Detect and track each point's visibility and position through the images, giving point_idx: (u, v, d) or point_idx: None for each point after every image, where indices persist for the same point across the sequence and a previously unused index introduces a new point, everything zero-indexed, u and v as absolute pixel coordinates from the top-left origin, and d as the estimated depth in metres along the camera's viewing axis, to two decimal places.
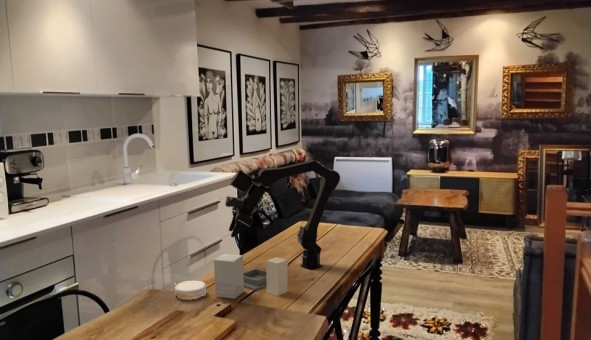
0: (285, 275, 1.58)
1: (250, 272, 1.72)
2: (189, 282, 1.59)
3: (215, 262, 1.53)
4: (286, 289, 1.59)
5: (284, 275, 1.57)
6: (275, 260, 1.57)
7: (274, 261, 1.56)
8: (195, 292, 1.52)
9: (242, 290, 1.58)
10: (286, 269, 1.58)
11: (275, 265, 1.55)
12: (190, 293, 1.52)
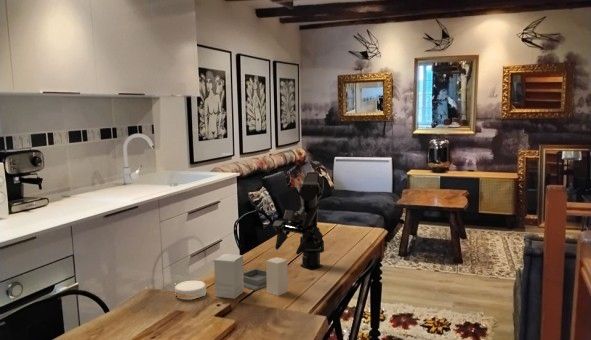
0: (285, 275, 1.58)
1: (250, 272, 1.72)
2: (189, 282, 1.59)
3: (215, 262, 1.53)
4: (286, 289, 1.59)
5: (284, 275, 1.57)
6: (275, 260, 1.57)
7: (274, 261, 1.56)
8: (195, 292, 1.52)
9: (242, 290, 1.58)
10: (286, 269, 1.58)
11: (275, 265, 1.55)
12: (190, 293, 1.52)
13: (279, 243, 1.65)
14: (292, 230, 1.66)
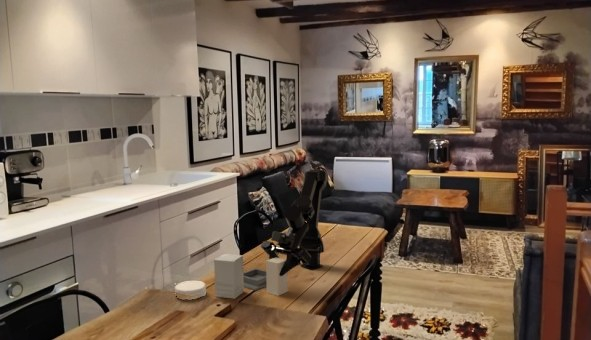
0: (285, 275, 1.58)
1: (250, 272, 1.72)
2: (189, 282, 1.59)
3: (215, 262, 1.53)
4: (286, 289, 1.59)
5: (284, 275, 1.57)
6: (275, 260, 1.57)
7: (274, 261, 1.56)
8: (195, 292, 1.52)
9: (242, 290, 1.58)
10: None
11: (275, 265, 1.55)
12: (190, 293, 1.52)
13: None
14: (280, 251, 1.62)
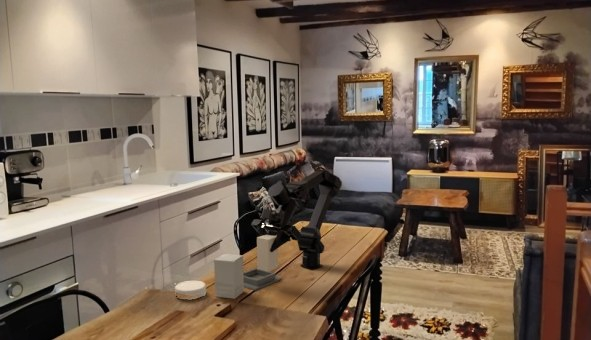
0: (275, 251, 1.62)
1: (250, 272, 1.72)
2: (189, 282, 1.59)
3: (215, 262, 1.53)
4: (276, 265, 1.63)
5: (274, 251, 1.62)
6: (265, 237, 1.62)
7: (264, 238, 1.60)
8: (195, 292, 1.52)
9: (242, 290, 1.58)
10: None
11: (265, 241, 1.59)
12: (190, 293, 1.52)
13: None
14: (270, 229, 1.66)
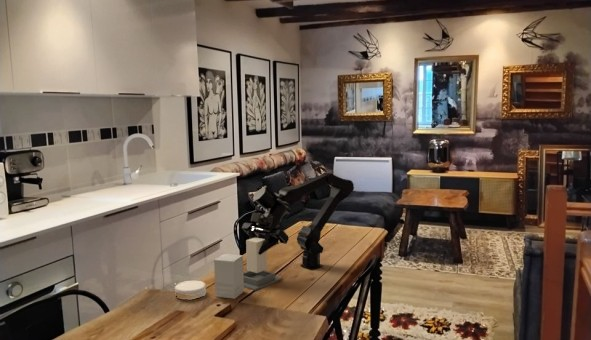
0: (264, 254, 1.68)
1: (250, 272, 1.72)
2: (189, 282, 1.59)
3: (215, 262, 1.53)
4: (265, 267, 1.69)
5: (263, 254, 1.67)
6: (254, 239, 1.67)
7: (253, 241, 1.66)
8: (195, 292, 1.52)
9: (242, 290, 1.58)
10: None
11: (254, 244, 1.65)
12: (190, 293, 1.52)
13: None
14: (260, 232, 1.72)
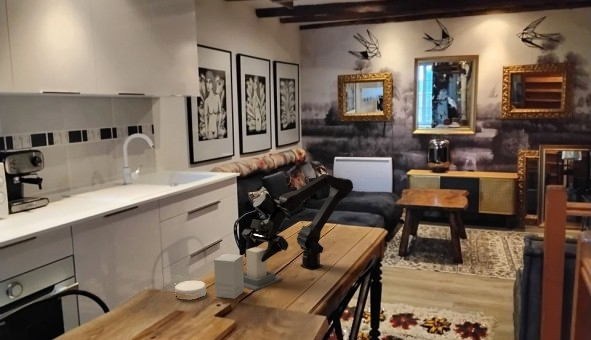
0: (264, 263, 1.68)
1: None
2: (189, 282, 1.59)
3: (215, 262, 1.53)
4: None
5: (263, 263, 1.68)
6: (254, 249, 1.68)
7: (253, 250, 1.66)
8: (195, 292, 1.52)
9: (242, 290, 1.58)
10: None
11: (254, 254, 1.65)
12: (190, 293, 1.52)
13: None
14: (260, 238, 1.72)
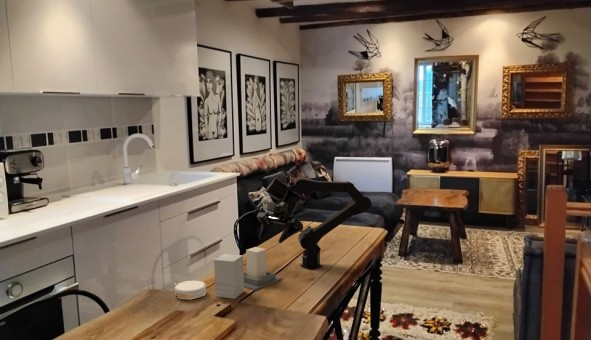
0: (264, 263, 1.68)
1: None
2: (189, 282, 1.59)
3: (215, 262, 1.53)
4: None
5: (263, 263, 1.68)
6: (254, 249, 1.68)
7: (253, 250, 1.66)
8: (195, 292, 1.52)
9: (242, 290, 1.58)
10: (265, 258, 1.68)
11: (254, 254, 1.65)
12: (190, 293, 1.52)
13: (263, 233, 1.76)
14: (275, 221, 1.77)
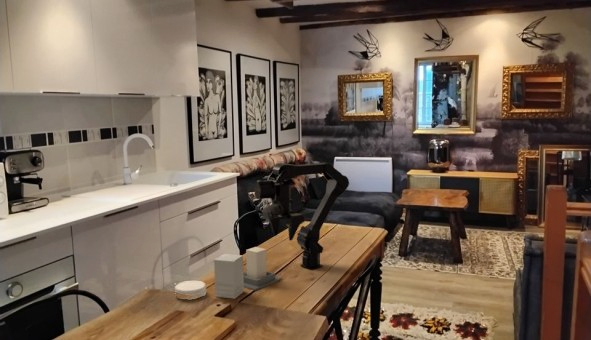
0: (264, 263, 1.68)
1: None
2: (189, 282, 1.59)
3: (215, 262, 1.53)
4: None
5: (263, 263, 1.68)
6: (254, 249, 1.68)
7: (253, 250, 1.66)
8: (195, 292, 1.52)
9: (242, 290, 1.58)
10: (265, 258, 1.68)
11: (254, 254, 1.65)
12: (190, 293, 1.52)
13: (275, 229, 1.81)
14: (279, 216, 1.78)
